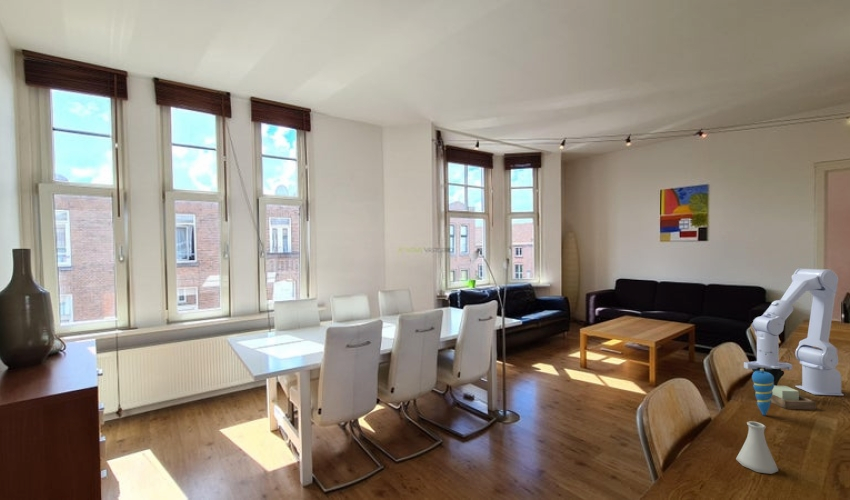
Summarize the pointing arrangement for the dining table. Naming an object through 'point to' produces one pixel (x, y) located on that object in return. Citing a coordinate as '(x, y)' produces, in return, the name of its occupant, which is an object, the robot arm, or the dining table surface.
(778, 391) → the sage block
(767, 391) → the ornament
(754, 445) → the flask
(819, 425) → the dining table surface
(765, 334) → the robot arm
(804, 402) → the frame
